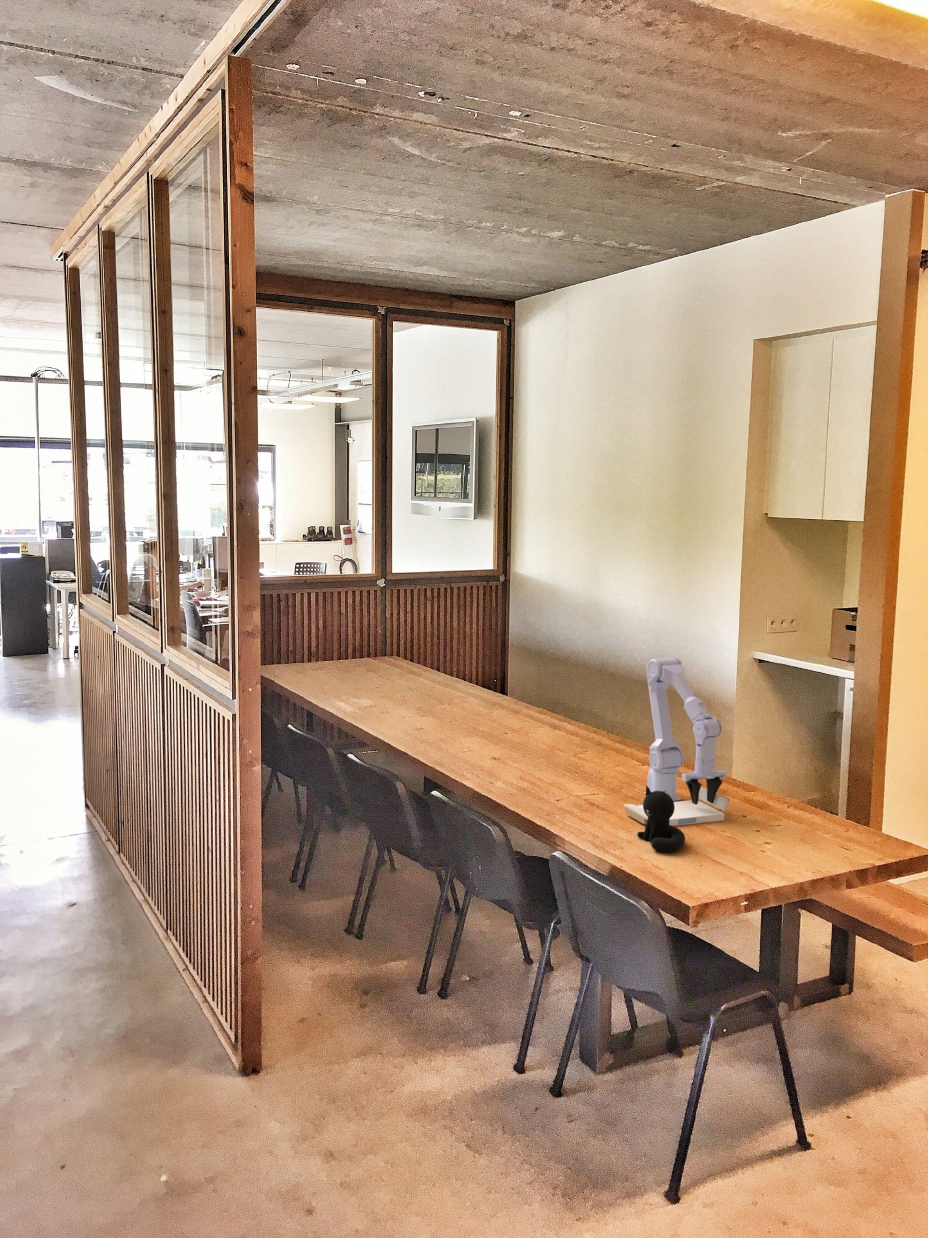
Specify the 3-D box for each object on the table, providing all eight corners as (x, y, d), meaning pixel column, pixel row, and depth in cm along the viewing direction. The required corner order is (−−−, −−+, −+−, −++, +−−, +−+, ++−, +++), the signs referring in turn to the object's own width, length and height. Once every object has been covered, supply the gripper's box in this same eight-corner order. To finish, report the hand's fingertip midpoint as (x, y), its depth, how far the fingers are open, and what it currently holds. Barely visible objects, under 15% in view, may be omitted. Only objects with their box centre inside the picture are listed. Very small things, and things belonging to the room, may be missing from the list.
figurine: (623, 838, 280) (626, 785, 278) (660, 831, 287) (664, 779, 285) (663, 857, 266) (666, 802, 264) (701, 849, 273) (705, 795, 272)
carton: (634, 812, 303) (634, 806, 302) (696, 806, 311) (696, 799, 311) (660, 827, 290) (661, 820, 290) (724, 820, 298) (724, 814, 298)
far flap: (723, 811, 298) (730, 811, 299) (726, 799, 298) (732, 800, 299) (697, 798, 310) (704, 798, 311) (700, 787, 310) (706, 787, 311)
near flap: (634, 804, 302) (632, 812, 302) (624, 804, 300) (622, 812, 301) (658, 818, 290) (657, 826, 290) (648, 817, 288) (646, 826, 289)
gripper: (692, 763, 295) (689, 808, 297) (733, 760, 300) (730, 804, 302) (678, 757, 301) (676, 801, 303) (719, 754, 307) (716, 797, 309)
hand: (702, 802), depth 303 cm, fingers open, 5 cm apart
